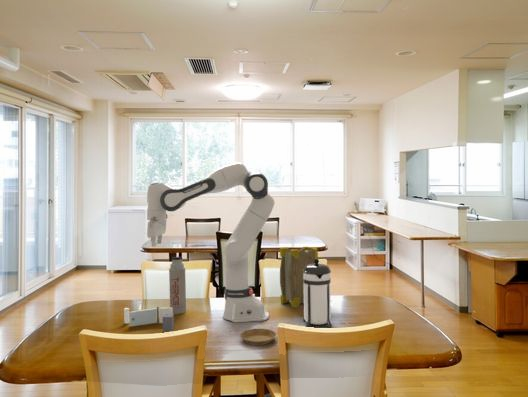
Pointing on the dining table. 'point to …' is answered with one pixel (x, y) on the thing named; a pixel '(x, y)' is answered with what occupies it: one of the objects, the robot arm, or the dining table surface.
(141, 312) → the door
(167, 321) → the block
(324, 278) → the coffee press
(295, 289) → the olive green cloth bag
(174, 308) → the thermos bottle
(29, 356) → the dining table surface
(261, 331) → the plant saucer
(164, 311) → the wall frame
